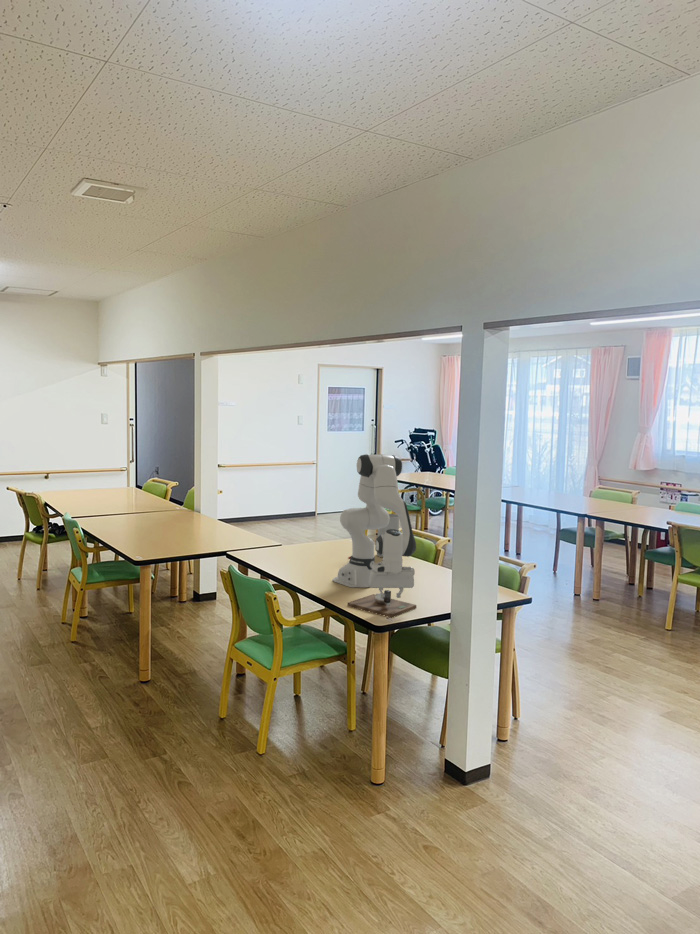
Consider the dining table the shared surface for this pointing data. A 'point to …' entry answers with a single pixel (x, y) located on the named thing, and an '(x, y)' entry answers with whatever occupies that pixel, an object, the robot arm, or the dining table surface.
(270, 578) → the dining table surface
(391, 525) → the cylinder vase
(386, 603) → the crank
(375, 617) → the dining table surface
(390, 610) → the board
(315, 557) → the dining table surface
